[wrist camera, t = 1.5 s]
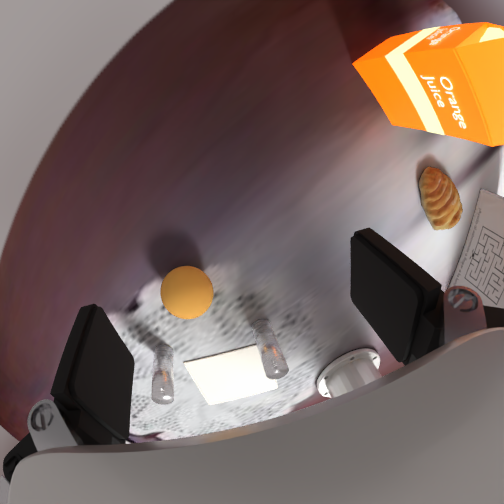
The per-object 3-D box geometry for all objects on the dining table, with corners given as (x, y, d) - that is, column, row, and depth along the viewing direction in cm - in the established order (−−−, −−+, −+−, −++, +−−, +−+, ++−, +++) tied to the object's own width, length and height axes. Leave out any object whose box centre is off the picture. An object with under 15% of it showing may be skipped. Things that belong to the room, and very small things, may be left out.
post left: (176, 355, 36) (176, 402, 29) (158, 359, 36) (157, 405, 29) (168, 342, 35) (168, 390, 28) (151, 346, 34) (147, 394, 27)
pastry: (405, 187, 32) (425, 196, 28) (432, 153, 30) (452, 159, 27) (430, 230, 36) (447, 240, 32) (454, 198, 34) (471, 206, 31)
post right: (272, 330, 37) (289, 375, 30) (253, 336, 37) (267, 381, 30) (269, 316, 36) (287, 361, 29) (249, 322, 36) (264, 368, 29)
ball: (216, 291, 33) (222, 322, 28) (172, 303, 32) (170, 335, 27) (203, 250, 30) (206, 277, 25) (155, 264, 29) (149, 292, 25)
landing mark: (277, 387, 43) (278, 388, 43) (209, 404, 42) (209, 405, 42) (266, 341, 38) (266, 342, 38) (183, 362, 37) (183, 363, 37)
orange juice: (391, 126, 27) (545, 168, 10) (350, 63, 23) (517, 47, 6) (426, 94, 26) (564, 119, 9) (390, 36, 22) (536, 21, 5)
